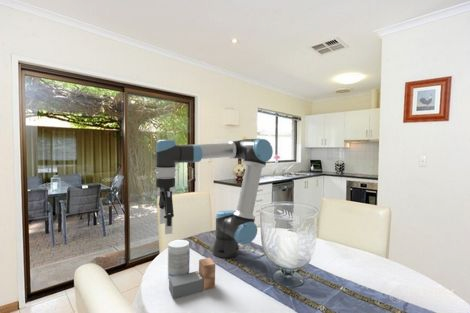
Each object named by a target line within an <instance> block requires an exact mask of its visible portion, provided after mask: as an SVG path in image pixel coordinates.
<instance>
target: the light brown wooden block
mask: <svg viewBox="0 0 470 313" xmlns="http://www.w3.org/2000/svg"><path fill="white" fill-rule="evenodd" d="M198 272H199V274H200V275H201V277H202V278H203V291H205V290H209V289H213V288H214V289H215V288H216V263H215V262H214V260H213V259H212V258H211V257H206V258H201V259H198Z"/></svg>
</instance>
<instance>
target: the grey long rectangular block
mask: <svg viewBox="0 0 470 313" xmlns="http://www.w3.org/2000/svg"><path fill="white" fill-rule="evenodd" d="M168 279H169V280H168V290H169V292H170V295H171V298H172V300H176V299H179V298H184V297H187V296H190V295H194V294H198V293H201V292H203V291H204V290H203V278H202V277H201V275H200V274H199V270H198V271H192V272H189V273H187V274H182V275H178V276H173V277H168Z"/></svg>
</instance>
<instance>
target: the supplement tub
mask: <svg viewBox="0 0 470 313" xmlns="http://www.w3.org/2000/svg"><path fill="white" fill-rule="evenodd" d="M167 245H168V247H167V277H168V278H169V277H173V276H178V275H182V274H187V273H190V259H191V258H190V257H191V256H190V255H191V254H190V253H191V252H190V251H191V249H190V242H189V241H188V240H186V239H175V240H172V241H170V242H168V244H167Z"/></svg>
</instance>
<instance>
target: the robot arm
mask: <svg viewBox="0 0 470 313" xmlns="http://www.w3.org/2000/svg"><path fill="white" fill-rule="evenodd" d="M155 148H156V149H155V153H156V154H155V155H156V156H155V157H156V158H155V159H156V160H155V162H156V163H155V164H156V166H155V167H156V169H154V172H155V173H156V175H155V177H156V179H155V186H156V188H158V189H159V198H158V201H159V202H158V208H159V225H163V224H164V235H169V234H173V218H174V216H175V214H174V204H173V191H171V188H175V187H176V178H175V176H176V164H179V163H183V164H184V163H186V164H187V163H199V162H201V161H202V160H204V159H205V160H207V159H218V158H221V159H222V158H229V159H231V160H232V159H240V160H243V163H244V165H245V168H244V173H243V178H242V183H241V188H240V193H239V198H238V202H237V207H236V210H233V209H231V210H230V209H229V210H227V209H226V210H220V211H218V212H217V213H216V215H215V237H214V238H215V239H214V242H213V244H212V246H211V247H212V248H211V253H212V255H214V256H215V257H218V258H223V259H227V258H228V259H229V258H234V257H236V256H238V255H239V253H240V248H239V244H242V245H247V244H248V245H249V244H251V243H252V241H254V240H255V238H256V237H257V234H258V227H257V224H256V223H255V221H256V217H255V216H254V210H255V204H256V201H257V194H258V190H259V185H260V180H261V175H262V170H263V168H265V167H266V165H267V162H269V161H270V159H272V156H273V152H274V150H273V146H272V145H271V142H270V141H268V140H267V139H265V138H259V137H258V138H246V139H245V138H244V139H239V140H233V141H232V140H231V141H228V142H227V143H226V142H225V143H201V144H177V143H176V141H175V139H159V140H157V141H156V147H155Z"/></svg>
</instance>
